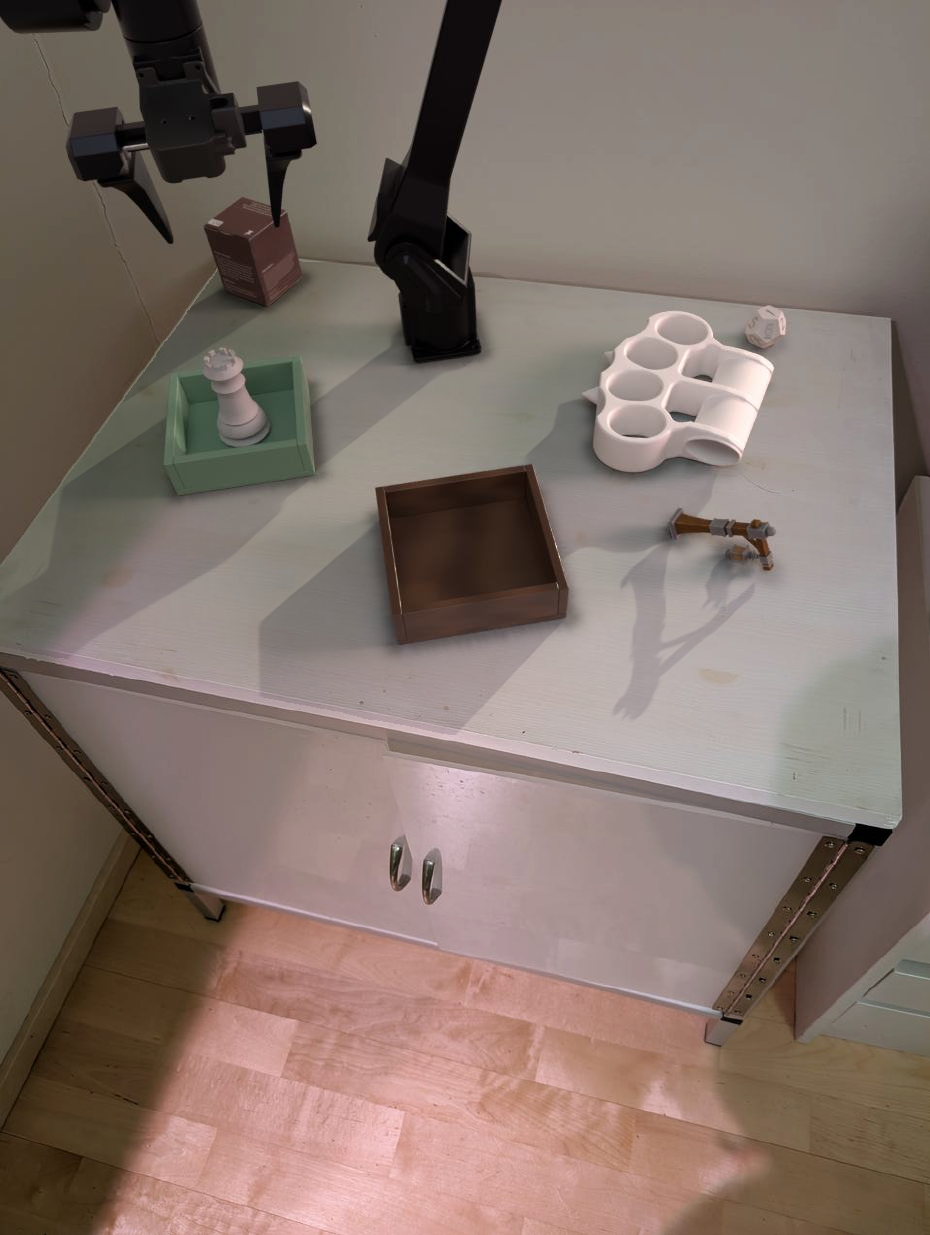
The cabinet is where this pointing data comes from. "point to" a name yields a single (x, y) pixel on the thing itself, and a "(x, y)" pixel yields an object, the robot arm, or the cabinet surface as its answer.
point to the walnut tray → (469, 554)
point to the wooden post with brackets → (724, 527)
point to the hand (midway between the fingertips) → (224, 233)
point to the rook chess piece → (234, 401)
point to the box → (253, 251)
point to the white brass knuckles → (676, 396)
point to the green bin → (215, 465)
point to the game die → (765, 326)
